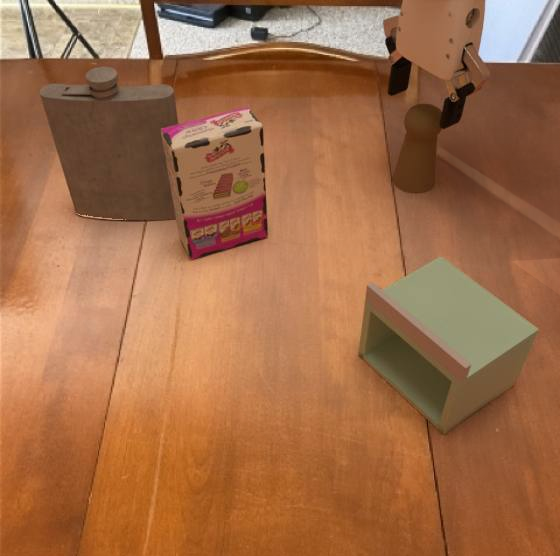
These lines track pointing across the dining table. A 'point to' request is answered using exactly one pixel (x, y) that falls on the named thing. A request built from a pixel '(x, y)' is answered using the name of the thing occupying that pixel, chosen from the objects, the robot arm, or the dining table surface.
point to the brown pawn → (418, 149)
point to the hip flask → (113, 145)
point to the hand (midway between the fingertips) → (422, 108)
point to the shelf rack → (443, 342)
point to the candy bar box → (217, 181)
